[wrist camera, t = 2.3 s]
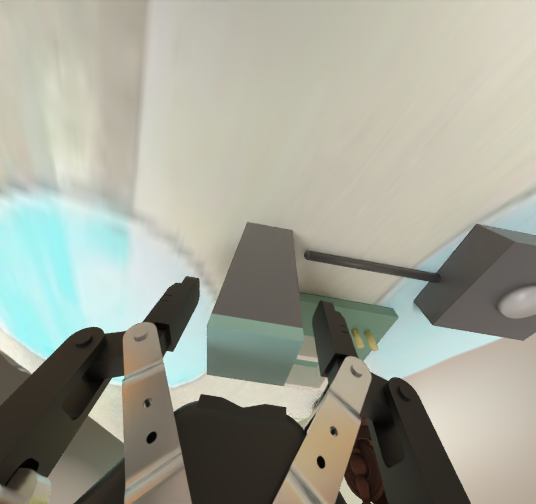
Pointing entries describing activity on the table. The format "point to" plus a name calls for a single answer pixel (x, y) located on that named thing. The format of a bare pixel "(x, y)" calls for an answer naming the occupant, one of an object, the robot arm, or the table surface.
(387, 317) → the header board
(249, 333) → the plug
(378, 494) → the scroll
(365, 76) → the table surface
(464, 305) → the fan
